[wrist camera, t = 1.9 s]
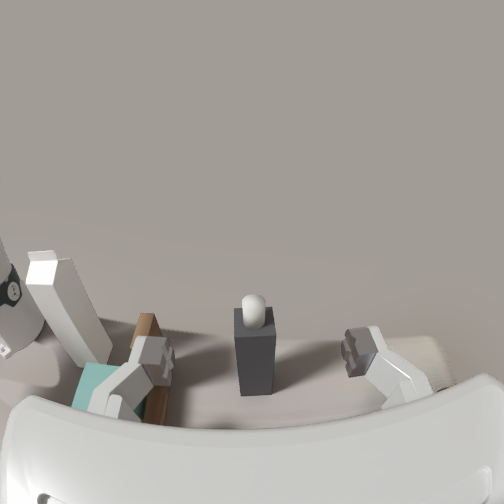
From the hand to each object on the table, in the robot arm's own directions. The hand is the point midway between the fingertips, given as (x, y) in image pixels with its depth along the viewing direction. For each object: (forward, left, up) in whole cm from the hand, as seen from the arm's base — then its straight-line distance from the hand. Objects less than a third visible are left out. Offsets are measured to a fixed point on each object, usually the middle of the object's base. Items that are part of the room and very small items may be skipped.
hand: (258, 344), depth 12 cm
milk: (-28, +17, -27) cm, 42 cm away
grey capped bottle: (0, +13, -26) cm, 29 cm away
